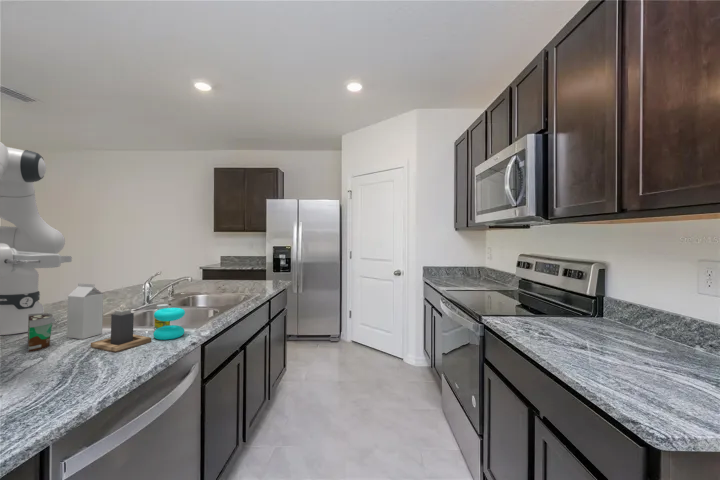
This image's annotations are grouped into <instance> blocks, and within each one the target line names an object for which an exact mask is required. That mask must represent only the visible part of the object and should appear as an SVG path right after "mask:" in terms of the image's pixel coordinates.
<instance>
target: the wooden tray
mask: <svg viewBox="0 0 720 480" xmlns="http://www.w3.org/2000/svg"><path fill="white" fill-rule="evenodd" d="M149 343H152V337H150V336H146V335H145V336H144V335H138V334H134V333H133V341H131V342H128V343H124V344H121V345H114V344H111V337H107V338H105V339H101V340H97V341H93V342H90V348H91V347H92V349H96V350H101V351H104V352H109V353H116V354H117V353H119V352H122V351H127V350H130V349H133V348H137V347H139V346H143V345H146V344H149Z"/></svg>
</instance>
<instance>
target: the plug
mask: <svg viewBox="0 0 720 480" xmlns="http://www.w3.org/2000/svg"><path fill="white" fill-rule="evenodd" d="M126 306H127V305H123V304H121V305H120V306H119V309H117V310H114V313H112V314H111V319H110V321H111V323H110V338H111V344H114V345H121V344H124V343H128V342H131V341H133V334H134V318H135V317H134V315H135V312H132V309H127V308H126Z"/></svg>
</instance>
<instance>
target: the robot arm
mask: <svg viewBox="0 0 720 480" xmlns="http://www.w3.org/2000/svg"><path fill="white" fill-rule="evenodd" d="M46 172H47V164H46V162H45V160H44V157H42V155H41V154H40V153H38V152H36V151H33V150H29V149H25V150H23V149H19V148H15V147H11V146H10V147H9V146H6V144H4V143H3V142H2V141H0V219H1V220H4V221H7V222H9V223H11V224H13V225H14V226H4V225H3V226H1V225H0V336H4V335H5V336H6V335H16V334H21V333H22V334H23V333H28V314H37V313H44V312H45V311H44V305H43V304H42V303H40V297H41V294H40V293H41V292H40V291H39V278H40V277H39V272H38V270H37V269H48V268H49V269H53V268H59V267H60V266H61V265H62V264H64V263H71V262H72V261H73V260H72V259H73V258H72V256H71V255H61V254H59V253H60V252H61V251H62V250H63V249H64V247H65V245H66V239H65V237H64V234H63V233H62V232H61V231H60V230H58V229H56V228H54V227H53V226H51V225H50V224H48V223H47V222H46V221H45V220H44V219H43V218H42V216H41V215H40V213H39V210H38V205H37V199H36V192H35V191H36V189H35V185H34V183H35V182H40V181H41V180H42V179H44V177H45V174H46Z"/></svg>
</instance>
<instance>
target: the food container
mask: <svg viewBox="0 0 720 480" xmlns="http://www.w3.org/2000/svg"><path fill="white" fill-rule="evenodd" d="M55 322H56V319H55V316H54V314H53V313H46V312H45V313H37V314H28V332H27V349H28V350H27V351H28V353H31V352H36V351H40V350H44V349H46V348H48V347H50V344H51V336H52V329H53V328H52V327H53V323H55Z"/></svg>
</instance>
